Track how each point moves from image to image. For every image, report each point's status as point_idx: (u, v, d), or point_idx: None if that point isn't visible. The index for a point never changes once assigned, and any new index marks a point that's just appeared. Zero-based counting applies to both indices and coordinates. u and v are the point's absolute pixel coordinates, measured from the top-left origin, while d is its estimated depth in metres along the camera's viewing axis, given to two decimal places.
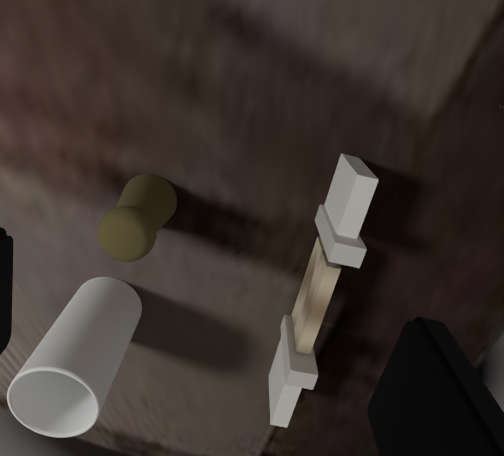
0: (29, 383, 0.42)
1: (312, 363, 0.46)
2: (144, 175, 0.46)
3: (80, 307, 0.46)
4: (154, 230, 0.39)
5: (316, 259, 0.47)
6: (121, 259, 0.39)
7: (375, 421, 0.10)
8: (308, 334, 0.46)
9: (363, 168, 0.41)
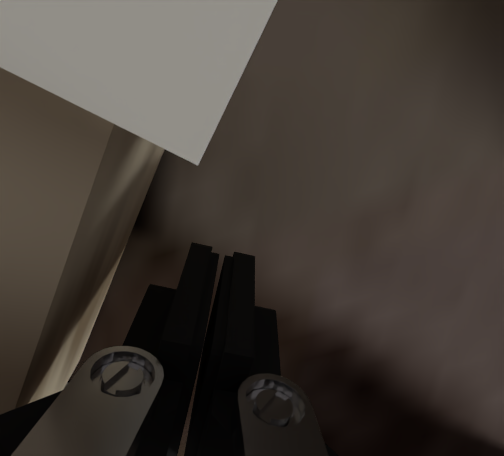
0: None
1: None
2: None
3: None
4: None
5: (59, 384, 0.12)
6: None
7: (202, 352, 0.11)
8: (21, 254, 0.06)
9: None
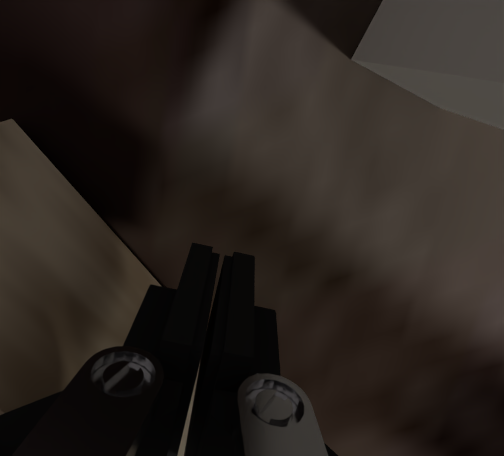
0: None
1: None
2: None
3: None
4: None
5: None
6: None
7: (202, 352, 0.11)
8: None
9: None
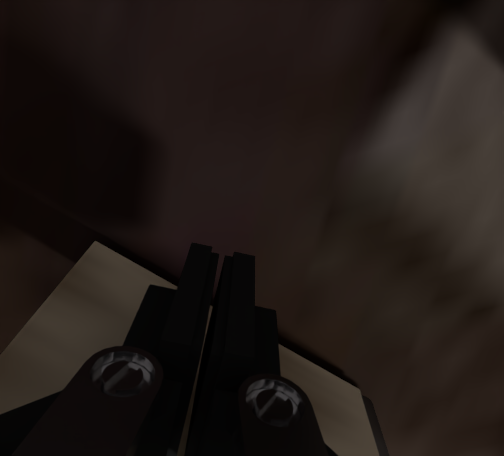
0: None
1: None
2: None
3: None
4: None
5: (339, 431, 0.13)
6: None
7: (202, 352, 0.11)
8: None
9: None
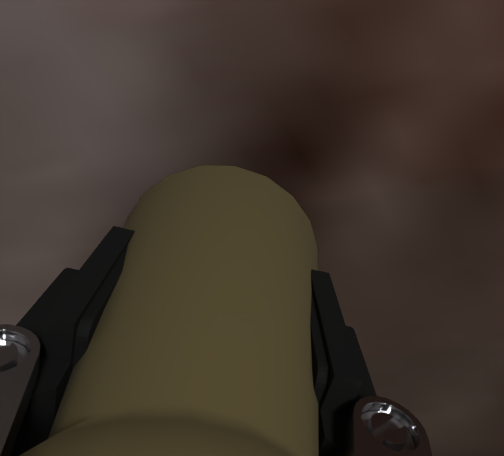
0: None
1: None
2: None
3: None
4: None
5: None
6: None
7: None
8: None
9: None
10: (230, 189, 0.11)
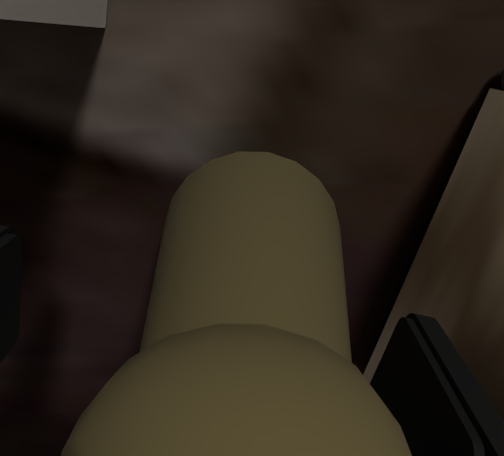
0: None
1: None
2: None
3: None
4: None
5: None
6: None
7: None
8: None
9: None
10: (267, 171, 0.12)
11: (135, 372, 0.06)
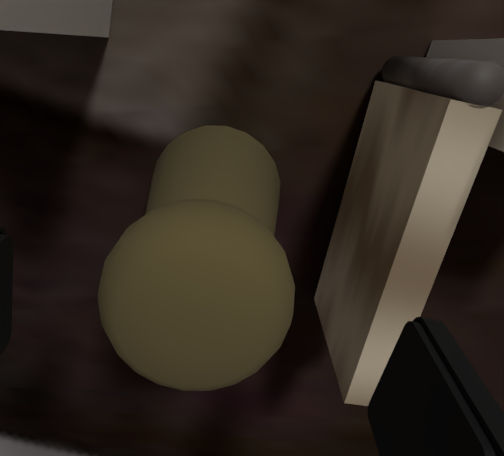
0: None
1: (8, 10, 0.10)
2: (279, 189, 0.20)
3: None
4: None
5: (384, 128, 0.16)
6: (112, 314, 0.10)
7: (375, 421, 0.10)
8: (379, 350, 0.15)
9: None
10: (224, 136, 0.18)
11: (143, 217, 0.11)
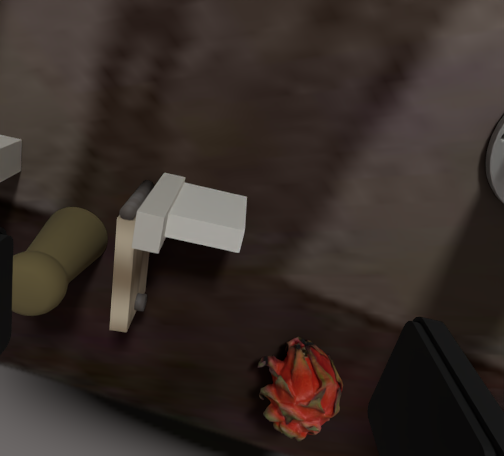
0: None
1: None
2: (104, 235, 0.42)
3: None
4: None
5: None
6: None
7: (375, 421, 0.10)
8: (117, 307, 0.37)
9: None
10: (71, 214, 0.40)
11: None
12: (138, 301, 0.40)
